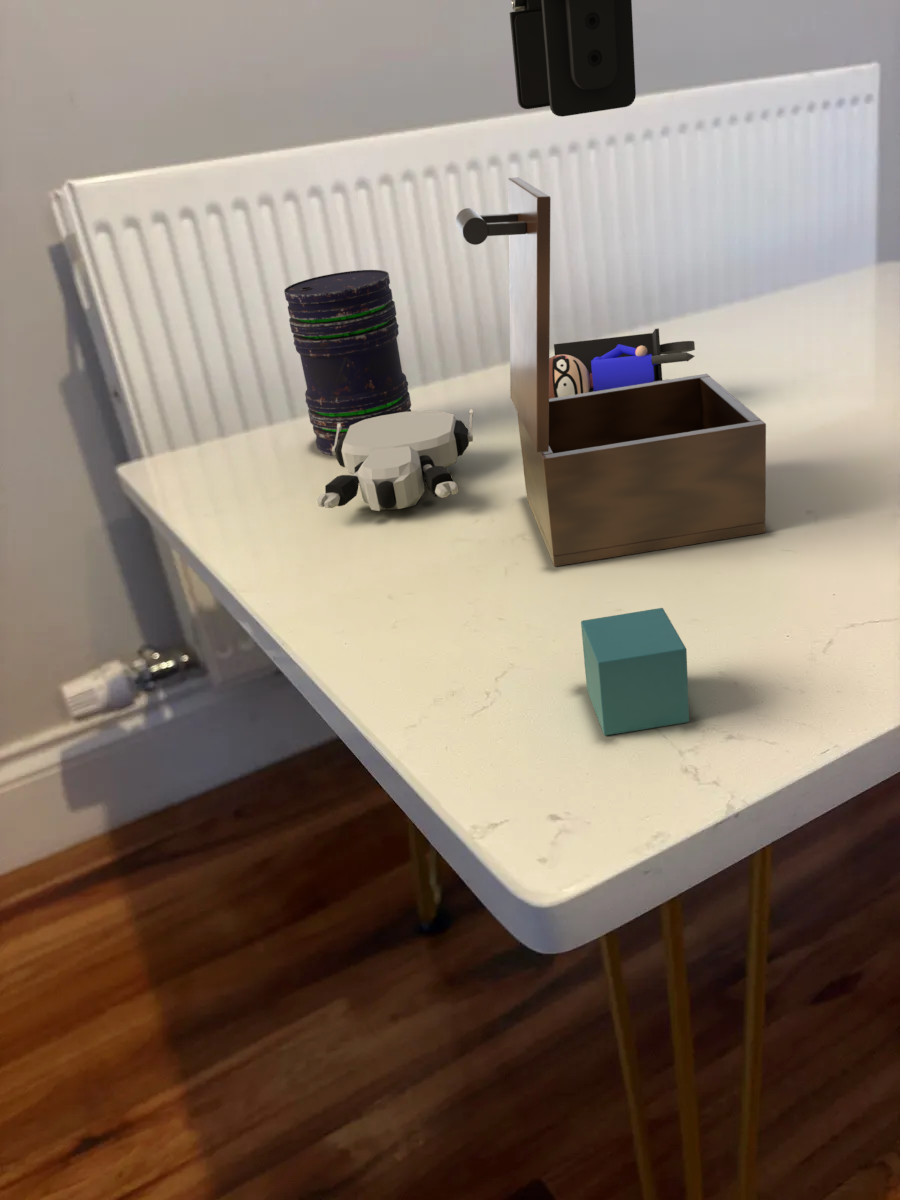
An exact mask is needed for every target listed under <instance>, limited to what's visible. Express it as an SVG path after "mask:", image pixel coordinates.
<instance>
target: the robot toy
mask: <svg viewBox="0 0 900 1200" xmlns="http://www.w3.org/2000/svg"><path fill="white" fill-rule="evenodd" d="M468 415H469V425H468V427H469V428H468V427H467V426H466V425H465V423H464V422H463V421H462V420H458V419H457V418H456V417H455V414H453V413H449V412H447V411H443V410H442V411H440V410H417V411H411V412H400V413H394V414H388V415H382V416H378V417H373V418H369V419H365V420H362V421H360V422H357V423H355V424H353V425H351V426H350V427H349V429H348V432H345V433H343V434H342V436H341V438H340V439H339V435H340V431H341V424H340V423H339V424H337V433H336V439H335V444H334V446H333V447H332V454H333V455H332V456H333V457H335V458H336V461H337V463H338V464H339V466H340V467H342V468H345V469H346V471H347V472H348V473H349V474H341V475H338V476H336V477H335V478H333V479H332V480H331V481H330V482H328V483H327V484H325V486H324V487H325V489H324V490H325V493H322V494H319V495H318V497H317V499H316V504H317V506H318V507H320V508H326V509H333V508H336V507H343V506H346V505H347V504H348V503H349V502H350V501H352V500H353V499H354V498H356V496H357V495H358V491H359V488H360V492H361V497H362V500H363V502H364V503H366V504H367V505H368V506H369V508H370V510H371V511H378V512H380V511H382V510H383V511H385V510H400V509H406V508H411V507H414V506H416V505H417V504H418V502H419V500H420V499H421V497H422V496H423V495H424V493H425V485H426V487H427V489H428V490H429V492H430V493H431V494H432V495H433V496H434V497H436V498H437V497H438V498H441V499H443V498H447V497H450V495H452V496H453V495H457V494H459V493H458V492H459V486H458V484H457V483H456V482H455V481H454V479H453V477H452V474H451V472H450V471H448V470H447V468H448V467H450V466H452V465H454V464H456V463H457V461H458V460H457V459H458V457H461V456H463V455H464V454H465V451H466V450H467V448H468V447H469V444H470V443H471V442H474V435H473V419H474V418H473V417H474V410H473V409H472V408H471V409H469V414H468ZM338 440H339V441H338Z"/></svg>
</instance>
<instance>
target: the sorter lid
mask: <svg viewBox="0 0 900 1200" xmlns="http://www.w3.org/2000/svg"><path fill="white" fill-rule="evenodd" d="M507 184H508V185H507V187H508V189H507V191H508V213H497V214H480V213H478V212H477V211H476V210H475V209H473V208H469V207H465V208H463V209H462V210H460V211H459V212H458V214H457V215H456V216H455V217H456V218H455V225H456V228H457V230H458V231H459V232H460V234H461V235H462V237H463V238H464V240H465V241H466V242H467V243H468V244H470V245H473V246H477V245H480V244H483V243H484V242H485V241H486V240H487V238H488V237H497V236H498V237H499V236H508V265H509V266H508V275H509V276H508V277H509V278H508V279H509V280H508V282H509V283H508V287H509V294H508V295H509V382H510V383H509V385H510V386H509V387H510V389H509V393H510V399H511V402H512V404H513V406H514V408H515V411H516V413H517V412H518V414H519V416H520V418H521V420H522V422H523V425H524V427H525V429H526V431H527V433H528V435H529V437H530V439H531V441H532V443H533V445H534V447H535V449H536V452H548V451H549V358H550V343H551V342H550V336H551V335H550V333H551V331H550V330H551V329H550V328H551V323H550V322H551V321H550V319H551V215H552V213H551V212H552V211H551V208H552V207H551V206H552V205H551V203H552V201H551V199H552V198H551V197H552V196H550V195H548V194H546V193H545V192H543V191H542V190H540V189H539V188H537V187H535V186H534V185H532V184H531V183H529V182H527V181H526V180H524V179H523V178H521V177H520V176H516V177H508V180H507ZM518 414H517V415H518Z"/></svg>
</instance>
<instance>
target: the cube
mask: <svg viewBox="0 0 900 1200" xmlns="http://www.w3.org/2000/svg"><path fill="white" fill-rule="evenodd" d="M580 626H581V627H580V628H581V640H582V650H583V661H584V673H585V683H586V684H585V685H586V691H587V694H588V697H589V699H590V702H591V704H592V707H593V709H594V713H595V715H596V718H597V720H598V722H599V726H600V728H601V731H602V734H603V736H604V737H605V736H613V735H617V734H623V733H630V732H636V731H642V730H649V729H655V728H660V727H661V728H662V727H666V726H667V727H668V726H672V725H673V726H674V725H680V724H685V723H689V722H690V709H689V705H690V704H689V682H688V678H689V677H688V651H687V648H686V645H685V643H684V642H683V640H682V639H681V637H680V634H679V633H678V631H677V630H676V628H675V627H674V624H673V623H672V622H671V619H670V618H669V616H668V614H667V613H666V611H665V609H664V608H663V607H658V608H651V609H645V610H640V611H634V612H627V613H622V614H614V615H609V616H602V617H597V618H590V619H584V620H581V621H580Z"/></svg>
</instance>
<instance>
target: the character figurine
mask: <svg viewBox="0 0 900 1200" xmlns="http://www.w3.org/2000/svg"><path fill="white" fill-rule="evenodd" d="M695 345H696V343H695V341H694V340H681V341H674V342H673V341H672V342H665V343H662V344H661V341H660V328H655V329H654V330H653V332H648V333H642V334H640V333H639V334H633V335H632V334H631V335H623V336H613V337H606V338H596V339H588V340H578V341H569V342H561V343H553V351H554V355H553V356H551V357H549V399H551V398H557V397H563V396H569V395H576V394H582V393H588V392H594V391H601V390H607V389H613V388H619V387H626V386H632V385H638V384H645V383H651V382H657V381H663V380H664V379H663V368H662V367H663V366H662V364H671V363H679V362H680V363H682V362H687V363H688V362H689V361H690V360H692V359H693V358H695V357H696V355H693V354H692V353H690V352H693V351H695V350H696V347H695ZM668 380H670V379H668Z"/></svg>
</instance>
